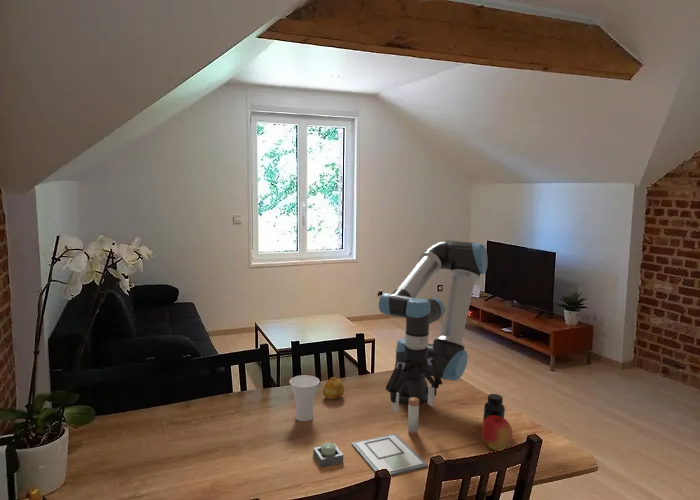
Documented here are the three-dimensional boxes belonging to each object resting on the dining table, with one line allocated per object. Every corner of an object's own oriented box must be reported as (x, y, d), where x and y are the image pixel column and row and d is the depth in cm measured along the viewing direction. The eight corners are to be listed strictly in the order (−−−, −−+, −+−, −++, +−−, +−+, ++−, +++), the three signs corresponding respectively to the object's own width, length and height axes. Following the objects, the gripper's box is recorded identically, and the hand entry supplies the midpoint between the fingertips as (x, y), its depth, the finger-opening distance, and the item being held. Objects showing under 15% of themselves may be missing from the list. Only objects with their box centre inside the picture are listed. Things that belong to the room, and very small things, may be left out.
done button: (318, 453, 159) (318, 444, 158) (332, 450, 160) (332, 441, 160) (323, 461, 155) (324, 451, 154) (337, 458, 156) (337, 448, 156)
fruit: (325, 384, 206) (325, 372, 201) (345, 388, 205) (346, 375, 200) (321, 402, 200) (320, 390, 195) (341, 406, 199) (342, 393, 194)
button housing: (313, 455, 159) (313, 447, 159) (334, 450, 162) (334, 443, 162) (321, 467, 153) (321, 459, 153) (343, 462, 156) (343, 454, 156)
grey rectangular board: (351, 444, 166) (351, 441, 166) (395, 435, 173) (395, 432, 173) (380, 478, 148) (380, 475, 148) (427, 466, 155) (428, 463, 154)
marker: (405, 431, 175) (406, 398, 173) (414, 430, 176) (415, 396, 175) (410, 436, 172) (412, 402, 170) (419, 434, 173) (421, 400, 172)
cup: (324, 414, 186) (324, 378, 184) (309, 427, 177) (310, 389, 175) (299, 408, 191) (299, 373, 189) (283, 420, 181) (283, 383, 179)
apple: (478, 452, 163) (480, 422, 162) (482, 438, 172) (484, 409, 171) (510, 459, 160) (512, 428, 158) (512, 444, 169) (515, 415, 167)
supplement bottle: (504, 435, 174) (506, 402, 172) (483, 433, 175) (485, 399, 173) (502, 426, 181) (504, 393, 179) (482, 423, 182) (484, 391, 180)
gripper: (387, 354, 161) (385, 418, 164) (454, 345, 171) (451, 407, 174) (376, 346, 168) (374, 409, 171) (442, 339, 178) (438, 398, 181)
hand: (413, 408), depth 172 cm, fingers open, 13 cm apart
